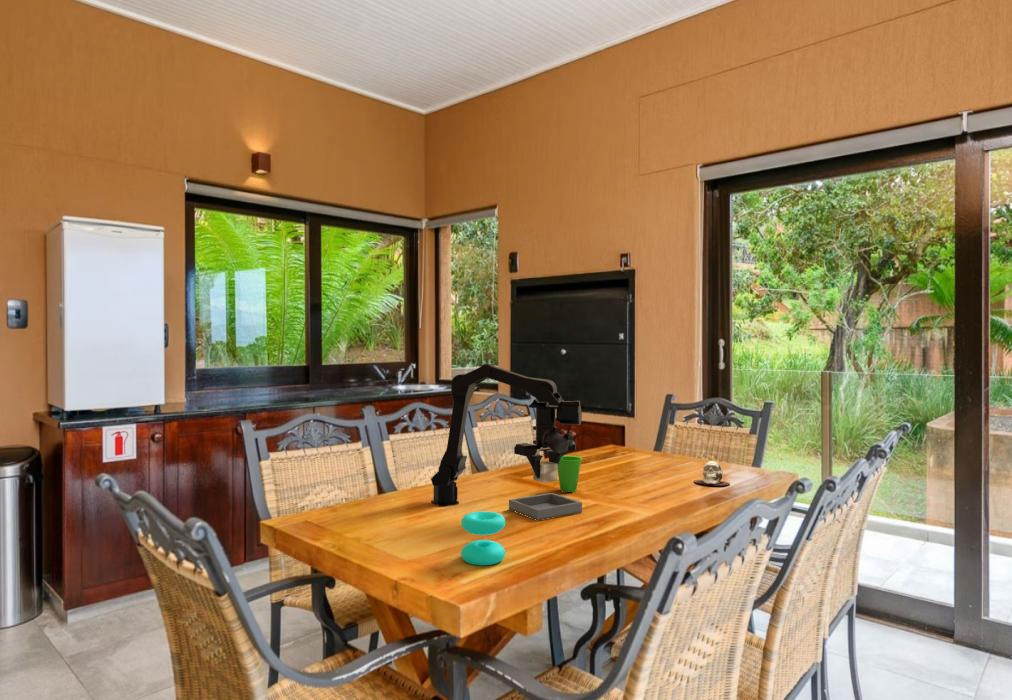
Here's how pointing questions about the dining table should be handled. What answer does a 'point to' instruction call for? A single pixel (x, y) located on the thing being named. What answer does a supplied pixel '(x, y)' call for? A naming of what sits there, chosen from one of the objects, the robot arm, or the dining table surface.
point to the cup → (569, 473)
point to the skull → (712, 474)
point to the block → (547, 472)
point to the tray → (545, 506)
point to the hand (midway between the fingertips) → (545, 476)
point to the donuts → (483, 549)
